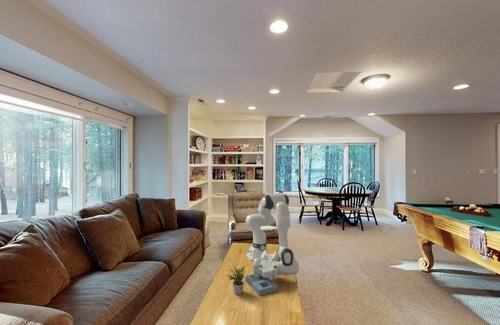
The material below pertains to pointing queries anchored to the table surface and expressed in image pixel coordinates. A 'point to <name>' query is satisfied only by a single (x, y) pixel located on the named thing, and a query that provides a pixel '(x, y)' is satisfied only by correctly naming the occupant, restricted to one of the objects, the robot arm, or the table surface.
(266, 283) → the socket panel
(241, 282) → the house plant
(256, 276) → the plug
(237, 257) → the table surface
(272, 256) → the cable organizer
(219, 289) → the table surface
